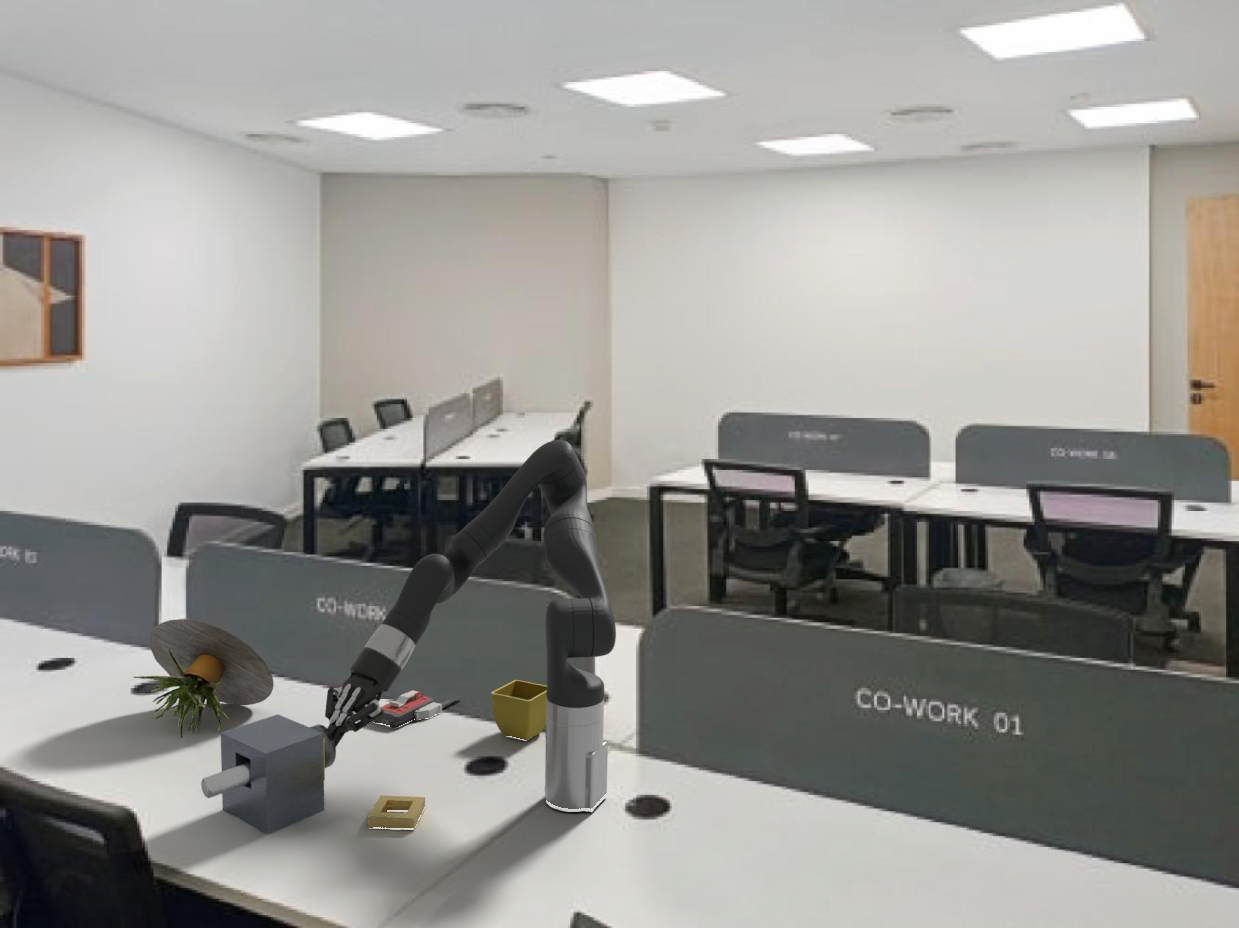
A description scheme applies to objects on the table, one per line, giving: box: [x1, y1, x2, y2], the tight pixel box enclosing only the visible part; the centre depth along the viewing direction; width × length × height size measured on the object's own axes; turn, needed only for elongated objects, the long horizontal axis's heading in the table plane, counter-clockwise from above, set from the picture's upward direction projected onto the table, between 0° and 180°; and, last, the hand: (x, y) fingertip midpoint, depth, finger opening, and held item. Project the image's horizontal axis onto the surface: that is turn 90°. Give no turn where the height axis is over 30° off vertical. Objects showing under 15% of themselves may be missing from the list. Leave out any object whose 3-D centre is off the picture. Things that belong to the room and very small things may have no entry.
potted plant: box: [133, 618, 274, 739], centre depth 185 cm, size 25×18×25 cm
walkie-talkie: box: [372, 689, 452, 729], centre depth 194 cm, size 9×4×20 cm
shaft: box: [200, 724, 337, 799], centre depth 151 cm, size 20×7×7 cm, turn 143°
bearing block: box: [220, 714, 325, 835], centre depth 152 cm, size 10×12×12 cm
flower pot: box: [490, 679, 547, 740], centre depth 184 cm, size 9×9×9 cm
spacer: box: [367, 795, 426, 828], centre depth 151 cm, size 7×7×2 cm
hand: (324, 748), depth 160 cm, fingers closed
